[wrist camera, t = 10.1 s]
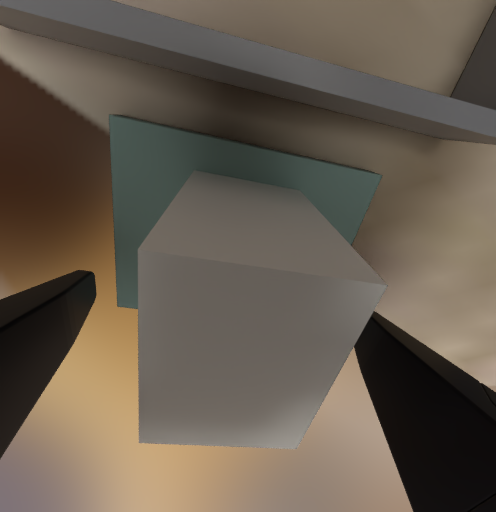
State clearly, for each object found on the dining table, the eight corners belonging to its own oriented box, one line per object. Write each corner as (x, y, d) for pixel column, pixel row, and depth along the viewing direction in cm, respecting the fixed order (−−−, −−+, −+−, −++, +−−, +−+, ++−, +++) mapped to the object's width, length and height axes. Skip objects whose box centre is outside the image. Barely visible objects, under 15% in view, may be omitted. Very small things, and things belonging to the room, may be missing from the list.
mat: (370, 171, 12) (382, 175, 11) (309, 317, 16) (313, 329, 15) (119, 114, 10) (108, 114, 9) (124, 294, 14) (117, 306, 13)
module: (299, 190, 11) (387, 285, 5) (267, 299, 14) (296, 448, 8) (194, 170, 10) (138, 249, 4) (182, 289, 13) (138, 442, 7)
